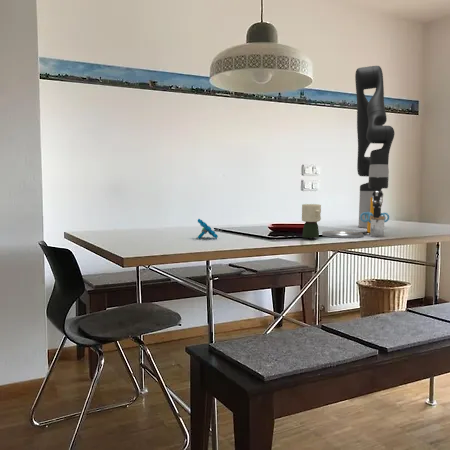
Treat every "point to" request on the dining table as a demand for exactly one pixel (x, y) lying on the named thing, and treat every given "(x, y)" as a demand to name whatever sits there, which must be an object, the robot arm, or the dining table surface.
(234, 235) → the dining table surface
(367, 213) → the orange block with rings
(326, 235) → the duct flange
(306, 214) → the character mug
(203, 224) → the blue piece
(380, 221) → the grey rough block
